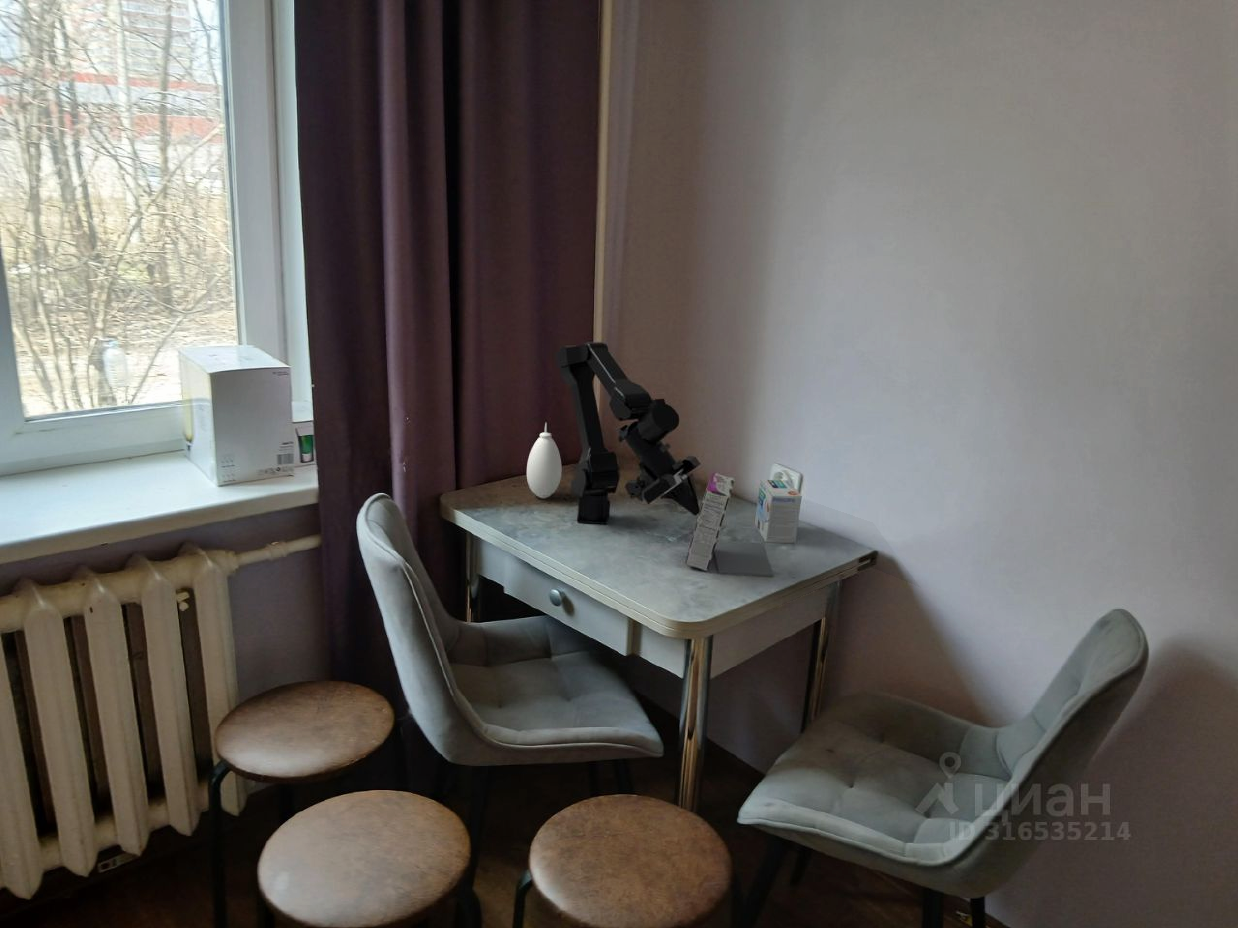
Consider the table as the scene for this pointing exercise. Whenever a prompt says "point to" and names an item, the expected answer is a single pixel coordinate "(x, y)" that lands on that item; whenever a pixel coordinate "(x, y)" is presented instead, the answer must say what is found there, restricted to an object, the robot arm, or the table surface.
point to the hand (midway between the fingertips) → (697, 514)
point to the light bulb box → (778, 511)
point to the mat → (741, 558)
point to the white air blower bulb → (544, 466)
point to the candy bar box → (709, 521)
